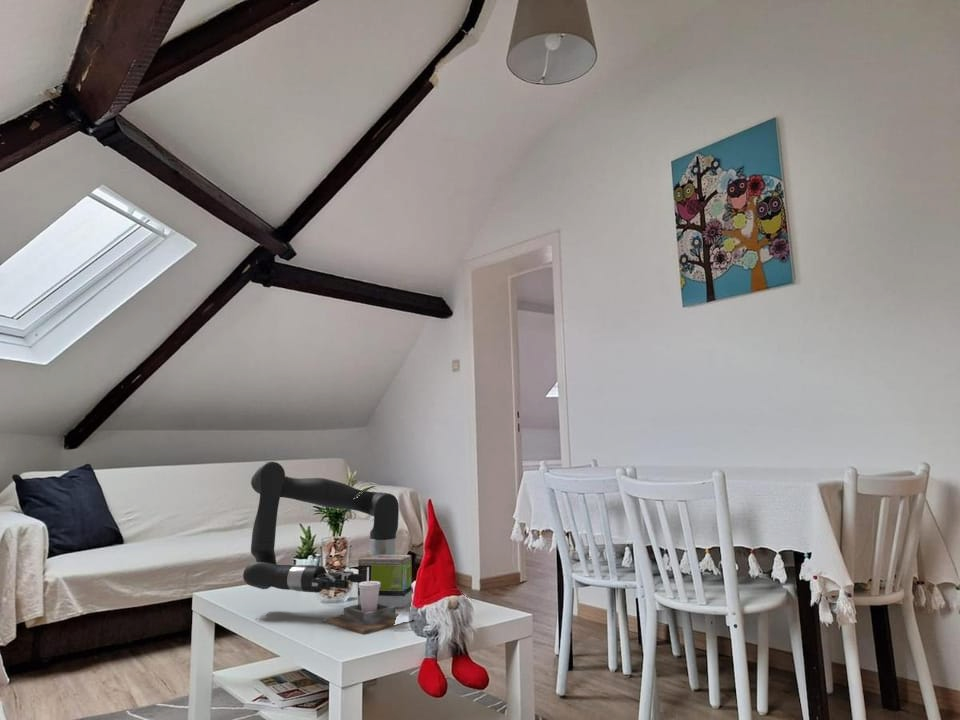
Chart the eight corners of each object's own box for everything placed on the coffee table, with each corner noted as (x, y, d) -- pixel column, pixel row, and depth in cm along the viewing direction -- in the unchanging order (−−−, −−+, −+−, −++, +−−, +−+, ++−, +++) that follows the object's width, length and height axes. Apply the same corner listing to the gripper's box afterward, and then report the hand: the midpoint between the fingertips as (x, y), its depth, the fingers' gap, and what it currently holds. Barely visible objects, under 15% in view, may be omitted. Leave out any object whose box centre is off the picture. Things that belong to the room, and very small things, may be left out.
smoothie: (361, 615, 179) (362, 565, 181) (382, 615, 179) (383, 565, 181) (354, 621, 173) (355, 569, 175) (376, 621, 172) (377, 569, 174)
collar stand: (375, 610, 188) (375, 597, 189) (414, 620, 176) (414, 606, 177) (324, 622, 175) (324, 608, 176) (362, 634, 163) (363, 619, 164)
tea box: (412, 601, 200) (412, 554, 202) (402, 609, 190) (403, 559, 192) (368, 599, 202) (369, 553, 204) (356, 607, 192) (357, 558, 195)
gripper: (293, 569, 177) (343, 572, 173) (320, 561, 191) (367, 563, 186) (292, 596, 176) (342, 600, 171) (319, 586, 190) (366, 589, 185)
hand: (355, 581), depth 179 cm, fingers open, 8 cm apart
